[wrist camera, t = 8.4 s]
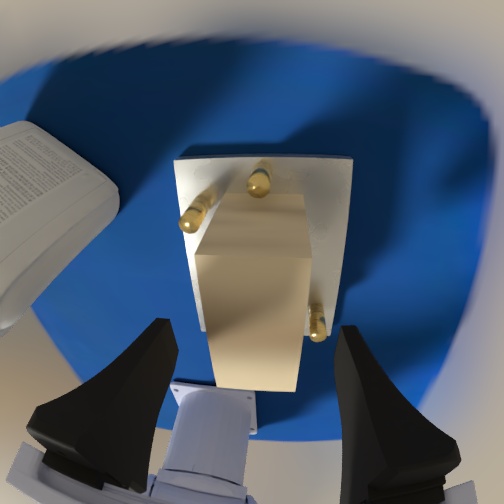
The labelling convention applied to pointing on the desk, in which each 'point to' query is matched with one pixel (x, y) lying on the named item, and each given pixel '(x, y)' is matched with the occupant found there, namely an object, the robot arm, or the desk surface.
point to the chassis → (275, 182)
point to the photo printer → (44, 213)
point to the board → (255, 289)
